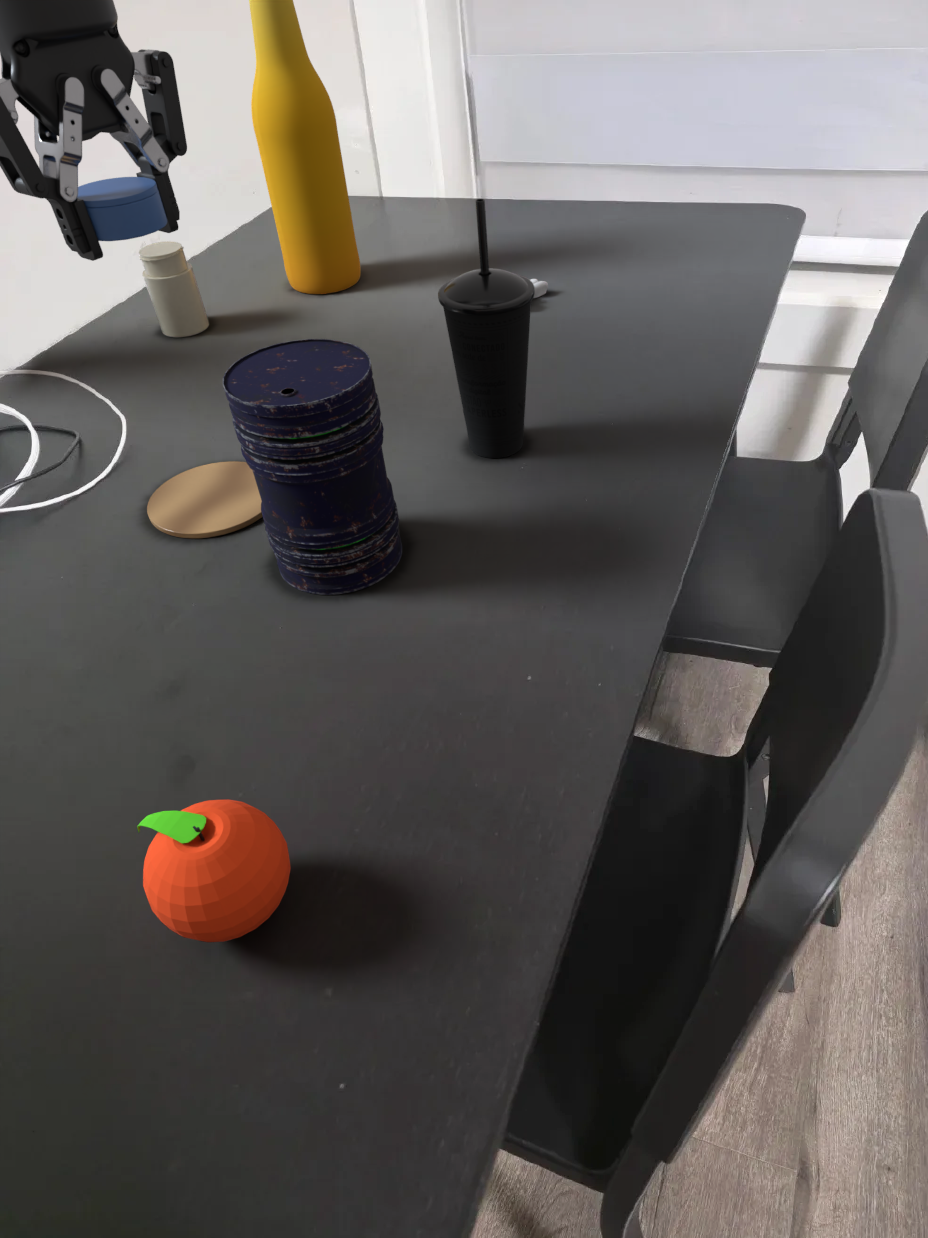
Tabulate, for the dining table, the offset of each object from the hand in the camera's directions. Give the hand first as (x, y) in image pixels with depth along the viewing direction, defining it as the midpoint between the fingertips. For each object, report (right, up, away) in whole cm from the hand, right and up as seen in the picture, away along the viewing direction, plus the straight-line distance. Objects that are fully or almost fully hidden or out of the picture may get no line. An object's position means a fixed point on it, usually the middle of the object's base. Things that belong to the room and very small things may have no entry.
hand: (130, 242), depth 60 cm
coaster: (+2, -16, +12) cm, 20 cm away
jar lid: (0, +2, -2) cm, 3 cm away
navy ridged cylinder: (+14, -22, +5) cm, 26 cm away
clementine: (+12, -43, -16) cm, 48 cm away
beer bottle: (+4, +19, +46) cm, 50 cm away
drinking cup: (+26, -10, +16) cm, 32 cm away
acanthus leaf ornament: (+27, +13, +39) cm, 49 cm away
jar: (-11, +10, +38) cm, 41 cm away
